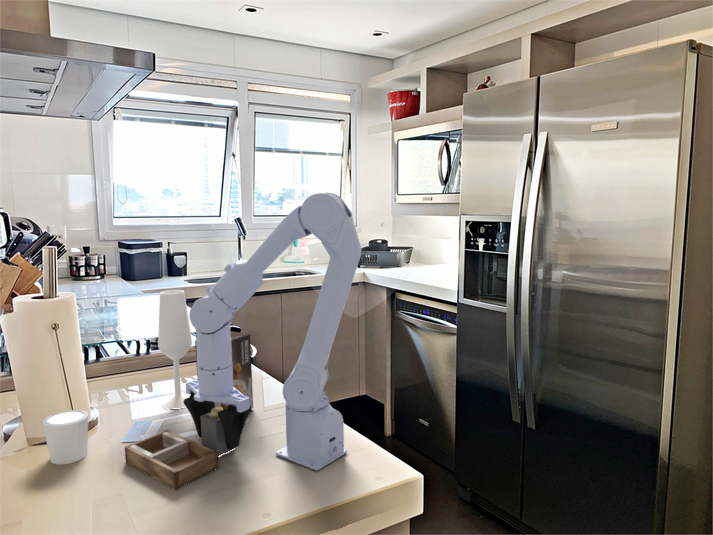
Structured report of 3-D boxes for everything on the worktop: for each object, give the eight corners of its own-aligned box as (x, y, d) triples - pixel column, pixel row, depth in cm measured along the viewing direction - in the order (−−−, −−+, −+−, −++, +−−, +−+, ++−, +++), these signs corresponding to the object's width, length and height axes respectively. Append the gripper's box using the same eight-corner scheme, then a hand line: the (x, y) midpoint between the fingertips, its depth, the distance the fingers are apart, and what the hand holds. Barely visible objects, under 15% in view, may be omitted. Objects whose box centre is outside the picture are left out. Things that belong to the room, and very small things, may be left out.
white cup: (41, 468, 89) (37, 428, 88) (52, 450, 96) (48, 411, 95) (87, 463, 91) (84, 422, 90) (95, 444, 98) (92, 407, 97)
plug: (235, 449, 95) (234, 408, 94) (217, 458, 92) (215, 416, 91) (220, 443, 98) (219, 403, 97) (202, 452, 95) (200, 410, 93)
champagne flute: (176, 412, 111) (169, 296, 108) (154, 405, 115) (147, 293, 112) (201, 401, 117) (196, 290, 114) (180, 395, 121) (174, 288, 117)
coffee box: (230, 403, 116) (227, 329, 113) (254, 409, 112) (251, 333, 110) (198, 419, 108) (194, 340, 106) (222, 426, 105) (218, 344, 102)
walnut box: (219, 468, 89) (218, 452, 88) (176, 490, 82) (175, 472, 82) (168, 444, 97) (167, 429, 97) (125, 462, 91) (124, 446, 91)
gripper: (169, 363, 94) (173, 438, 96) (223, 380, 85) (227, 462, 87) (203, 353, 100) (206, 424, 101) (258, 368, 91) (260, 446, 93)
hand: (218, 441), depth 95 cm, fingers open, 7 cm apart
